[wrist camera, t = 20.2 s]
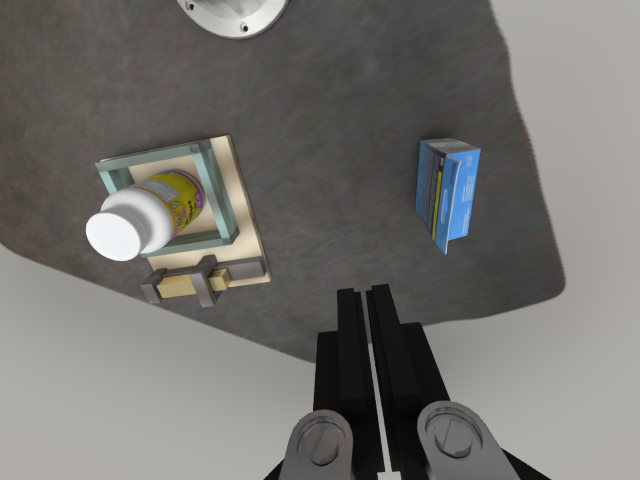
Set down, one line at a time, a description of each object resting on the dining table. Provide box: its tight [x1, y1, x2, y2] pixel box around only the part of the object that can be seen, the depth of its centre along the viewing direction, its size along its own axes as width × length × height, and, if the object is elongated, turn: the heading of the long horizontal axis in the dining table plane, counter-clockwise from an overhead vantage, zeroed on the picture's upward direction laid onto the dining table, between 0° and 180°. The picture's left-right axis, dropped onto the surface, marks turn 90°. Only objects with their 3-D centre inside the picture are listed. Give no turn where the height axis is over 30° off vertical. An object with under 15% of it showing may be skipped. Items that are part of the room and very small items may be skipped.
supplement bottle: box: [86, 170, 204, 261], centre depth 32 cm, size 7×7×13 cm
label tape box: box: [415, 138, 481, 255], centre depth 31 cm, size 9×4×12 cm, turn 4°
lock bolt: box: [157, 268, 231, 298], centre depth 40 cm, size 2×9×2 cm, turn 100°
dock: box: [95, 135, 271, 307], centre depth 38 cm, size 20×16×6 cm
